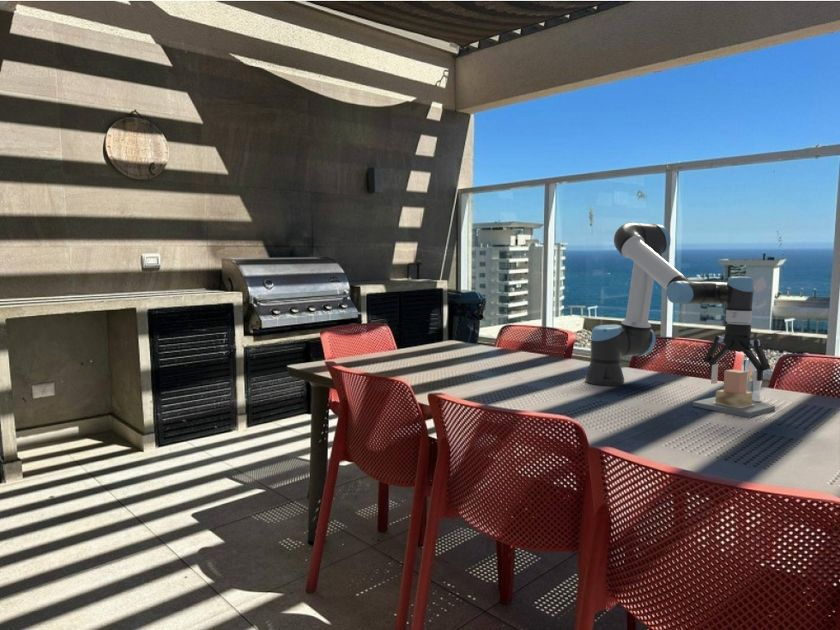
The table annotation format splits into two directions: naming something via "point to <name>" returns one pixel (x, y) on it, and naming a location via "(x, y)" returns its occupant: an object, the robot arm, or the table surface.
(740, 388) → the terracotta block
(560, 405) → the table surface
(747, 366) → the beer glass
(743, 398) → the oak base block
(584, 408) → the table surface
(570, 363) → the table surface
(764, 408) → the build board
